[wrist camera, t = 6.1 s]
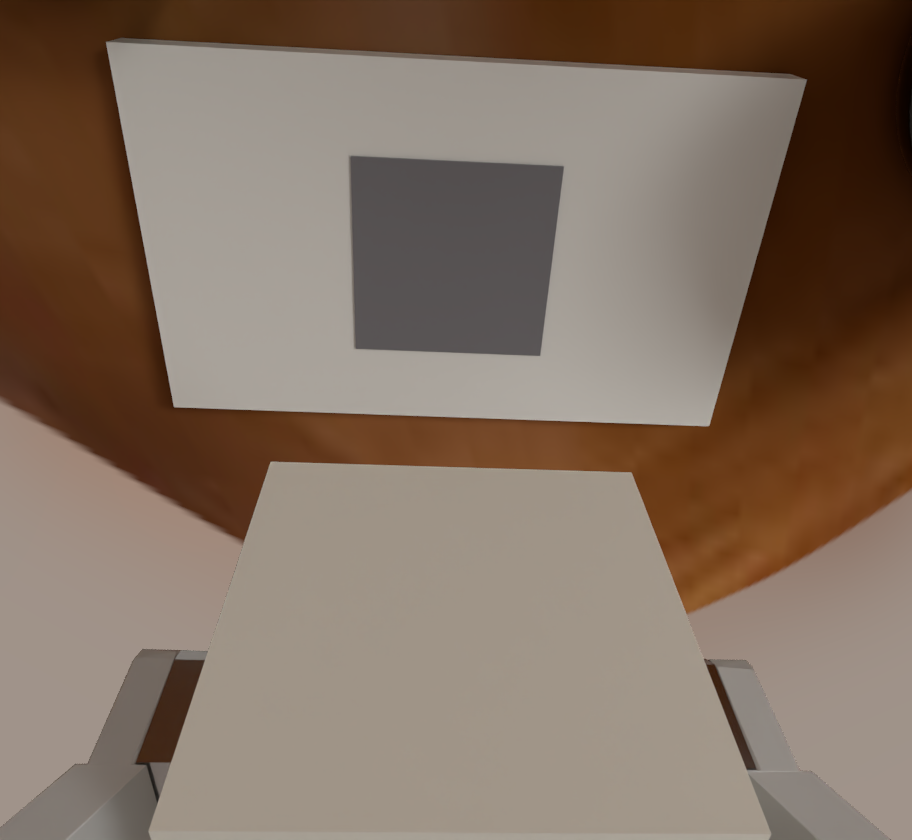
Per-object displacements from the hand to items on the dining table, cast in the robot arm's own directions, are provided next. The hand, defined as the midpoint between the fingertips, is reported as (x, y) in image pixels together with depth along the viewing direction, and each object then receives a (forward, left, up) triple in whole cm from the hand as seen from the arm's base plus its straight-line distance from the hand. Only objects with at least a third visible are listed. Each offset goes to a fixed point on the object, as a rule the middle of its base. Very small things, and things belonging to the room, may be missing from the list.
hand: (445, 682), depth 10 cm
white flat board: (0, 0, -18) cm, 18 cm away
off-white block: (0, 0, -2) cm, 2 cm away
